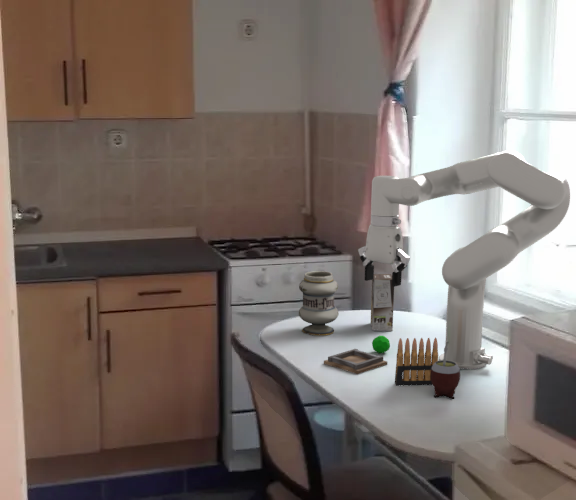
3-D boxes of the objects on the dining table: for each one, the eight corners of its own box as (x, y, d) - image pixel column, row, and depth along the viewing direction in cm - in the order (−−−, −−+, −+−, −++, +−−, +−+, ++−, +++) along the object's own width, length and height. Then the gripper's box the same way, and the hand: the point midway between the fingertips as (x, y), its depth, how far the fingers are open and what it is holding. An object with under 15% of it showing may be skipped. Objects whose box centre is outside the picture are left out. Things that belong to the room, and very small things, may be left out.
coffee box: (393, 331, 261) (395, 279, 258) (372, 330, 261) (373, 279, 258) (390, 323, 270) (392, 273, 267) (370, 323, 270) (371, 273, 267)
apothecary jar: (290, 331, 259) (290, 273, 256) (315, 323, 268) (316, 267, 265) (321, 339, 252) (322, 279, 248) (346, 330, 261) (347, 273, 257)
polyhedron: (370, 350, 241) (371, 333, 241) (388, 350, 242) (388, 333, 241) (373, 355, 236) (373, 338, 236) (391, 355, 237) (391, 338, 236)
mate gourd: (445, 388, 210) (447, 329, 207) (468, 398, 204) (471, 337, 201) (422, 394, 206) (424, 334, 203) (444, 404, 200) (447, 342, 197)
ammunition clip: (436, 382, 215) (438, 336, 212) (438, 385, 213) (440, 338, 211) (394, 383, 214) (396, 337, 212) (396, 385, 212) (397, 339, 210)
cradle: (387, 364, 229) (387, 357, 228) (357, 374, 220) (357, 366, 220) (353, 354, 237) (353, 347, 237) (323, 363, 229) (324, 356, 228)
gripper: (418, 223, 229) (416, 286, 232) (369, 216, 241) (367, 276, 244) (401, 226, 224) (398, 290, 227) (351, 219, 236) (349, 279, 239)
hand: (382, 282), depth 236 cm, fingers open, 9 cm apart
